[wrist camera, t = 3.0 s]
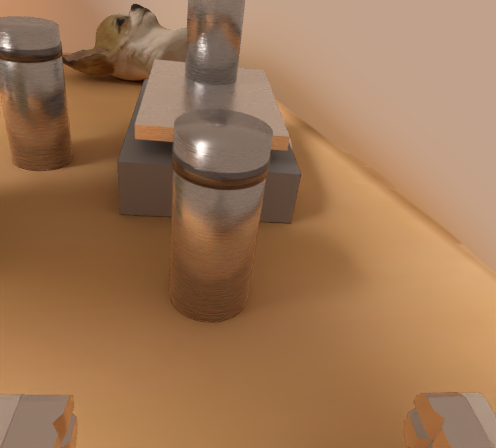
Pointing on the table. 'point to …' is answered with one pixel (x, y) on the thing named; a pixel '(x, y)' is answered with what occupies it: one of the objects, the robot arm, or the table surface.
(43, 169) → the cylinder
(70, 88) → the table surface
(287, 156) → the scale body
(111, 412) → the table surface
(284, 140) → the scale pan
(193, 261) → the cylinder
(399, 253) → the table surface
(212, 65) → the cylinder
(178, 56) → the ceramic sculpture
